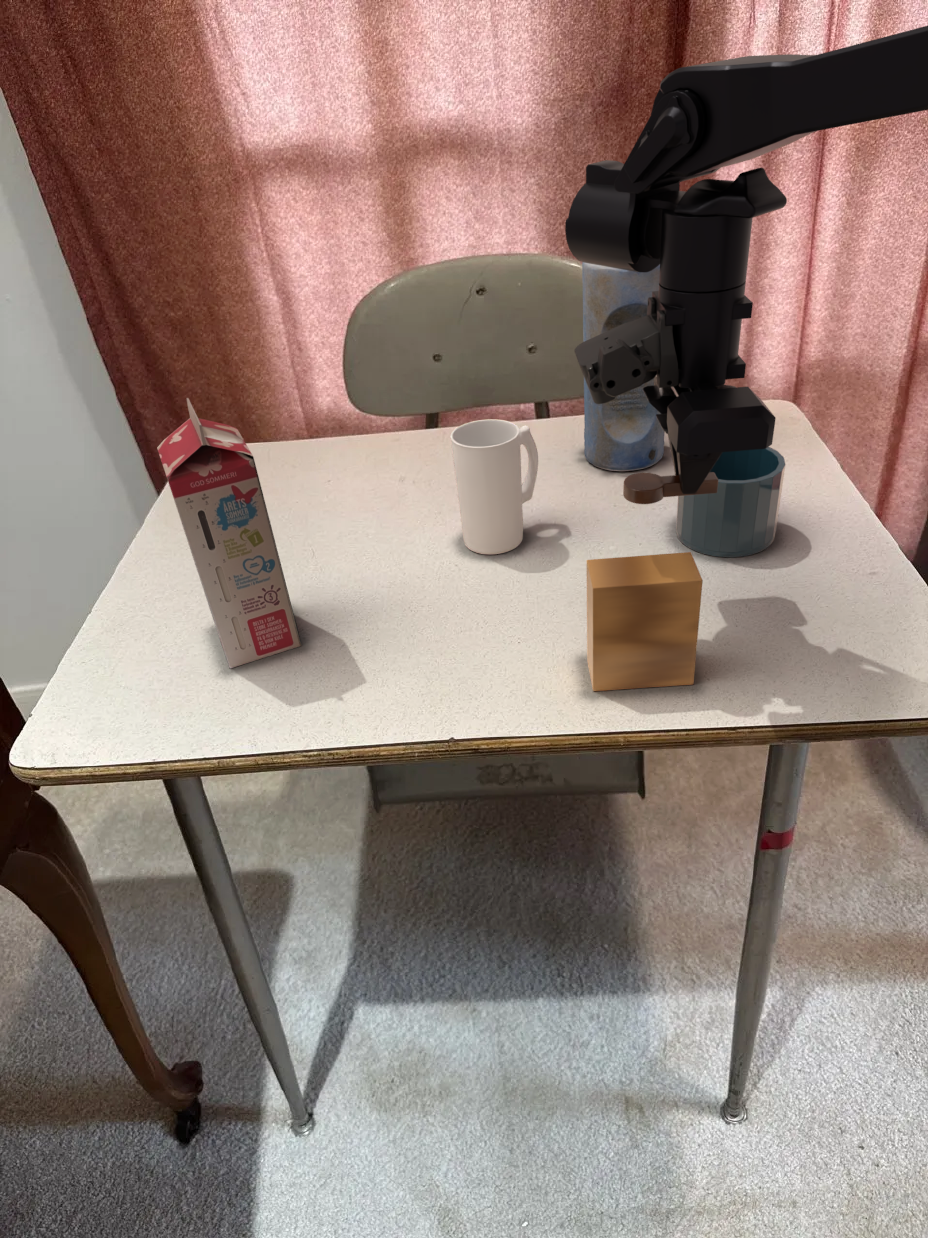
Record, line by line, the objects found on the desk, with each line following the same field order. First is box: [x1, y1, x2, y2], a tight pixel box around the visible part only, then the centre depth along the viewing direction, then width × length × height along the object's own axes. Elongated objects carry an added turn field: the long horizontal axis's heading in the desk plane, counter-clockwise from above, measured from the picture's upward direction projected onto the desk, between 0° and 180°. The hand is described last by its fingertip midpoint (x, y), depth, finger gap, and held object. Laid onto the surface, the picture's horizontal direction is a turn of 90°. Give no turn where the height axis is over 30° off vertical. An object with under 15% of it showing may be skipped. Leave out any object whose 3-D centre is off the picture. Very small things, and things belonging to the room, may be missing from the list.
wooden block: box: [586, 551, 703, 692], centre depth 66 cm, size 8×4×10 cm, turn 90°
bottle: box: [581, 261, 666, 472], centre depth 93 cm, size 10×10×30 cm
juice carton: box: [156, 397, 303, 669], centre depth 71 cm, size 7×7×22 cm
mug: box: [449, 418, 539, 555], centre depth 85 cm, size 10×7×12 cm, turn 129°
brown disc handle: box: [622, 472, 718, 505], centre depth 66 cm, size 7×3×1 cm, turn 91°
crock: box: [675, 446, 786, 558], centre depth 83 cm, size 10×10×8 cm
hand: (686, 487), depth 66 cm, fingers closed on brown disc handle, 1 cm apart
